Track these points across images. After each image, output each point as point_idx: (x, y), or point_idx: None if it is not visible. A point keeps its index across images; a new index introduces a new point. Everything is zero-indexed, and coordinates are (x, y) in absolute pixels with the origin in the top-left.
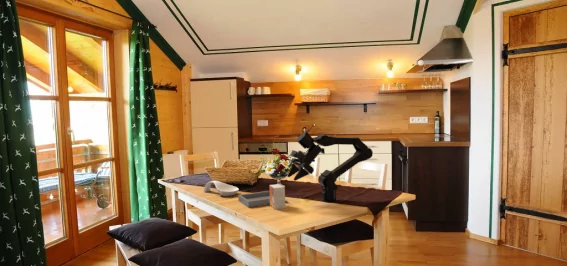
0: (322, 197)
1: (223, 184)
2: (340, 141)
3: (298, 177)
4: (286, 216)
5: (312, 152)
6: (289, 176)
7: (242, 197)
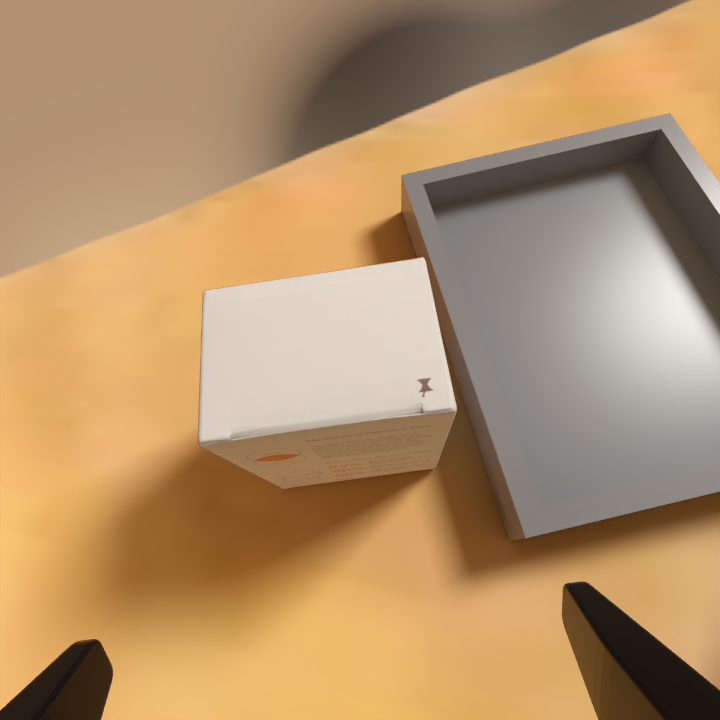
0: None
1: None
2: None
3: None
4: (47, 448)
5: None
6: (576, 649)
7: (565, 140)
